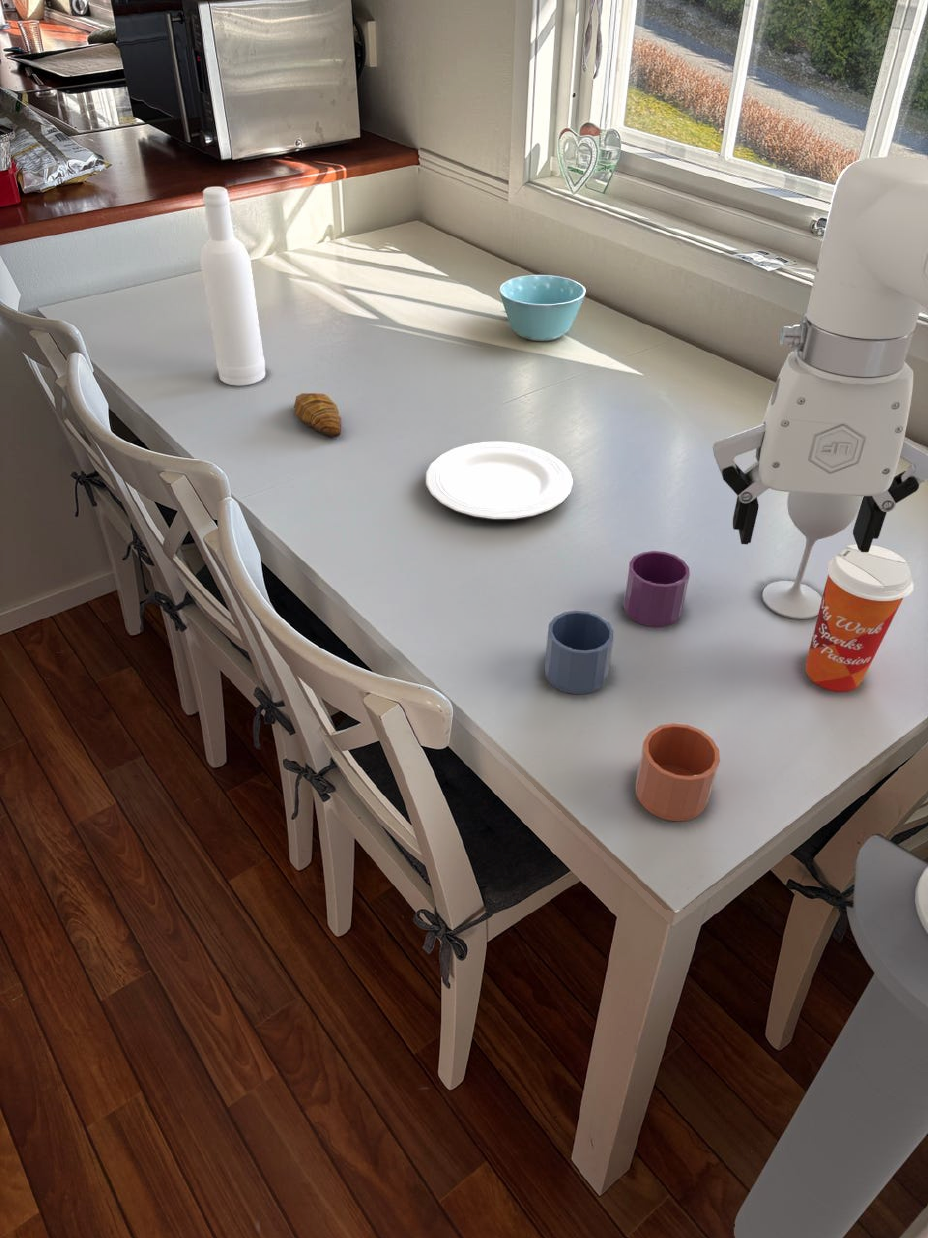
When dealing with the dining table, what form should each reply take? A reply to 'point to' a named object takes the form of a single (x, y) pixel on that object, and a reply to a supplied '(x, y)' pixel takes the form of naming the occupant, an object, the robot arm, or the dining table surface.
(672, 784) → the terracotta cup
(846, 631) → the coffee cup
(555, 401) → the dining table surface
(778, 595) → the wineglass
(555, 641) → the blue faceted cup
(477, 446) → the plate
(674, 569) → the plum cup
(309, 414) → the croissant
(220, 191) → the bottle
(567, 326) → the bowl
